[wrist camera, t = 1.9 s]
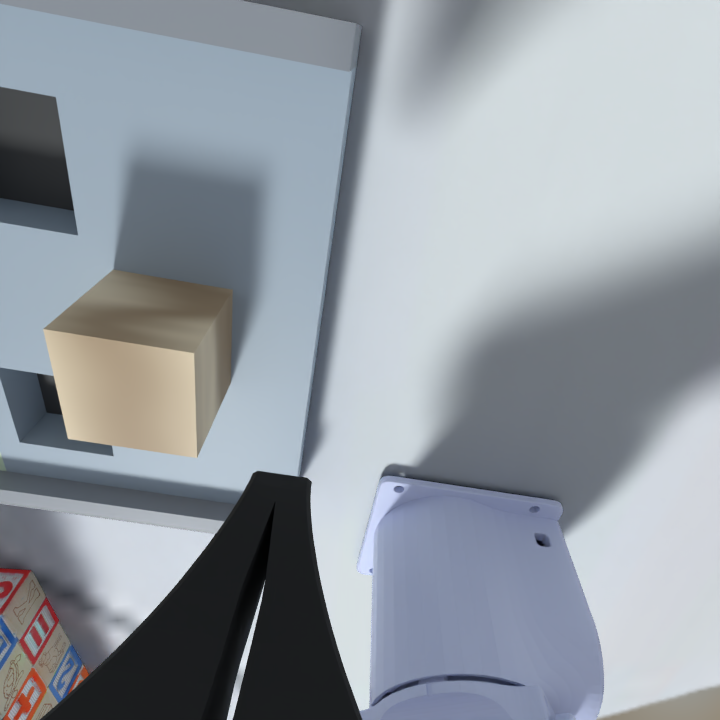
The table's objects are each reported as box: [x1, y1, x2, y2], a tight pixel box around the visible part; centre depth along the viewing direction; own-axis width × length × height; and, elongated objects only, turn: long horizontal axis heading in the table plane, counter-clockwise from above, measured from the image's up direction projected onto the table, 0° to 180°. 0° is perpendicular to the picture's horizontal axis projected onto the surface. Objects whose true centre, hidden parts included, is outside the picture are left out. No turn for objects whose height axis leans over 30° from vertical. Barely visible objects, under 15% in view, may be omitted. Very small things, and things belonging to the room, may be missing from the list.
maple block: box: [43, 270, 233, 458], centre depth 16 cm, size 4×4×4 cm
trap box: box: [0, 0, 362, 534], centre depth 17 cm, size 19×20×5 cm
